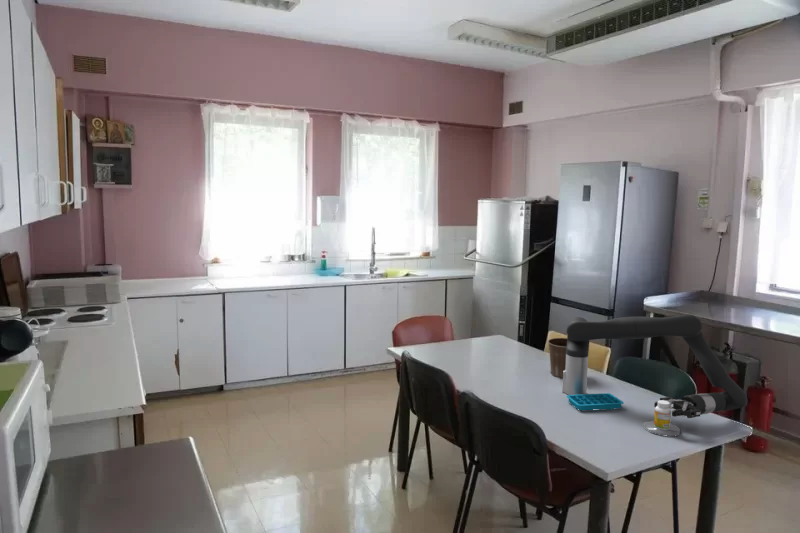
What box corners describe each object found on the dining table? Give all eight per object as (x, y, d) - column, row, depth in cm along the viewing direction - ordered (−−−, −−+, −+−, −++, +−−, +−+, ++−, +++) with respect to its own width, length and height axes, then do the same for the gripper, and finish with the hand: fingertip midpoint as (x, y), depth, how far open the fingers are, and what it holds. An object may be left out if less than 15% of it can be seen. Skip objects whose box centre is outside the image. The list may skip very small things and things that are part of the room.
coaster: (639, 429, 201) (639, 427, 201) (650, 420, 210) (650, 418, 210) (674, 439, 193) (674, 437, 193) (684, 429, 202) (684, 427, 202)
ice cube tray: (624, 410, 220) (625, 403, 220) (578, 412, 217) (578, 405, 217) (609, 399, 232) (609, 392, 231) (565, 402, 228) (565, 395, 228)
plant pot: (574, 382, 252) (575, 348, 250) (540, 375, 261) (542, 342, 259) (585, 373, 264) (587, 341, 262) (553, 367, 274) (555, 336, 272)
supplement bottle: (656, 423, 205) (657, 398, 204) (671, 427, 202) (673, 401, 200) (652, 427, 201) (653, 402, 200) (667, 431, 198) (669, 406, 196)
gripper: (684, 388, 211) (650, 392, 206) (715, 401, 198) (679, 406, 193) (682, 407, 212) (648, 411, 207) (713, 421, 199) (678, 426, 194)
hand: (663, 409), depth 200 cm, fingers open, 8 cm apart
